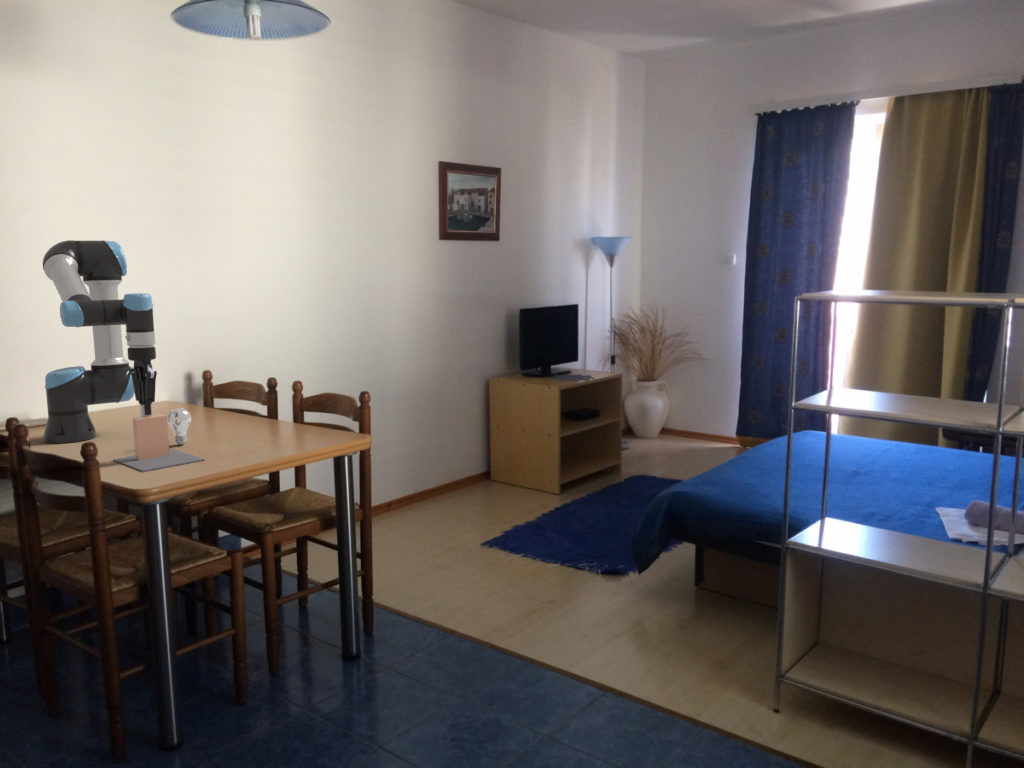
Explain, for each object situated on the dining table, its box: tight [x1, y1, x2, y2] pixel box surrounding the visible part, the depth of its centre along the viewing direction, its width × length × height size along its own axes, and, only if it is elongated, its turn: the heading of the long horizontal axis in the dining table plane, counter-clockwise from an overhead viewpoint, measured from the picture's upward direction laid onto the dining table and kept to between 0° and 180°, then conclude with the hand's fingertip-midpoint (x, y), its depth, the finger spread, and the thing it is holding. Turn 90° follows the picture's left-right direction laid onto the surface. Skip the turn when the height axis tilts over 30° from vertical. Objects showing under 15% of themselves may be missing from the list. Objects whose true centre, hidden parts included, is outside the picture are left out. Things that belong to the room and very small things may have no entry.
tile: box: [132, 414, 170, 460], centre depth 243 cm, size 2×9×12 cm, turn 138°
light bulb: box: [167, 407, 192, 446], centre depth 260 cm, size 7×7×12 cm
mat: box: [113, 448, 205, 473], centre depth 241 cm, size 20×18×1 cm
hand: (147, 425), depth 244 cm, fingers closed
